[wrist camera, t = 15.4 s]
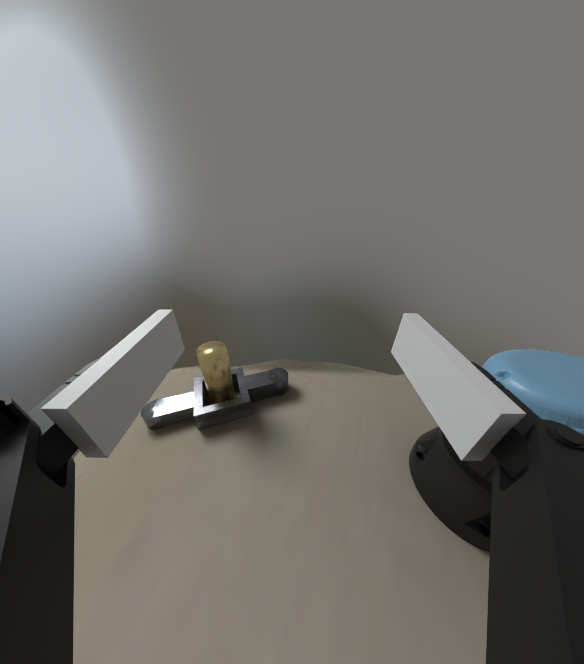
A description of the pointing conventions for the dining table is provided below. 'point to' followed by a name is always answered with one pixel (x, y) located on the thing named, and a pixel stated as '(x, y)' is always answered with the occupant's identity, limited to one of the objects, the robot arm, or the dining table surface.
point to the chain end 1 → (182, 411)
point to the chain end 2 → (249, 390)
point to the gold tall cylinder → (216, 371)
